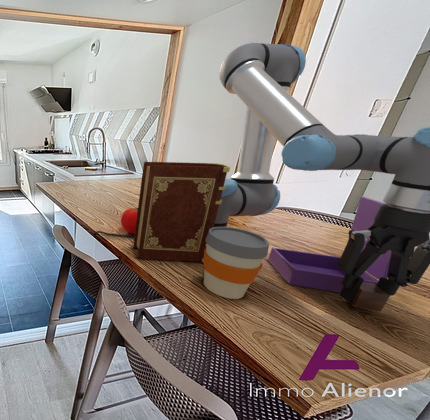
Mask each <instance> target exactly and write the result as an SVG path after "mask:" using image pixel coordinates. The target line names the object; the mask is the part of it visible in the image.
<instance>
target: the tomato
mask: <svg viewBox="0 0 430 420" xmlns="http://www.w3.org/2000/svg"><path fill="white" fill-rule="evenodd" d="M137 212H138V207H133V208H132V207H128V208H127V209H125V210H124V211H123V212H122V214H121V216H120V224H121V227H122V228H123V229H124V230H125V232H127V233H128V234H129V235H135V228H136V220H137Z"/></svg>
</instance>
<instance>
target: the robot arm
mask: <svg viewBox="0 0 430 420" xmlns="http://www.w3.org/2000/svg"><path fill="white" fill-rule="evenodd" d="M306 61H307V58H306V53H305V52H304V50H303V49H302V48H300V47H299V46H298V45H292V44H289V43H280V44H279V43H263V42H261V43H260V42H249V43H245V44H242V45H240V46H237V47H235V48H234V49H233V50H231V51H230V52H229V53H228V54H227V55H226V57H225V58H224V59H223V60H222V62H221V66H220V68H219V71H218V75H219V80H220V83H221V85H222V86H223V88H224V89H225V90H226V91H227V92H228V93H229V94H232V95H237V97H238V98H239V99H240V100H241V101H242V102H243V104H244V105H245V106H246V110H245V117H244V123H243V129H242V130H243V131H242V136H241V137H242V138H241V142H240V144H241V145H240V152H239V156H238V157H239V158H238V164H237V171H236V173H234V174H233V175H231V176H230V178H226V179H225V183H224V185H225V190H223V191H222V195H221V200H222V203H221V204H219V208H218V212H217V216H216V220H215V224H214V227H228V222H229V220H230V217H258V216H263V215H266V214H269V213H271V212H273V211H274V210H275V209H276V208H277V207H278V205H279V203H280V201H281V191H280V190H279V189H278V186H277V185H275V184H274V183H275V182H274V181H275V178H274V177H273V176H272V174H271V173H270V170H271V164H272V158H273V152H274V147H275V141H278V143H279V144H280V145H281V146H282V150H281V154H280V156H281V158H282V159H281V160H282V161H281V162H282V163H283V164H284V165H285V166H286V167H287V168H289V169H291V170H295V171H304V172H305V171H308V172H317V171H369V172H375V173H383V174H389V175H394V177H393V179H392V181H391V183H390V185H389V187H388V189H387V191H386V192H385V195H384V197H383V198H382V203H385V204H383V205H380V207H379V209H378V211H377V213H376V215H375V217H374V224H373V225H372V226H370V227H369V228H368V229H367V230H363V231H356V230H351V229H349V230H348V239H349V240H348V239H347V242H348V243H346V245H345V247H344V250H343V251H342V253H341V256H340V257H341V258H340V260H339V262H338V264H337V267H338V268H339V269H341V270H342V271H343V272H345V273H346V274H345V276H344V278H343V280H342V285H343V286H344V287H343V289H342V291H341V292H340V293H339V296H340V297H341V298H342V299H343V300H344V301H345V302H346V303H348V304H350V303H352V301H353V299H354V297H355V295H356V293H357V291H358V290H359V288H360V286H361V284H362V283H363V281H364V279H363V278H361V277H360V276H361V275H362V274H363V273H364V272H367V271H366V270H367V269H368V268H369V267H370V266H371V265H372V264H373V263H374V262H375V261H376V259H377V258H378V257H379V256H380V255H381V254H385V253H386V252H387V251H388V250H391V257H390V263H389V268H388V274H387V278H384V277H381V278H380V280H379V279H378V281H379V282H378V283H377V285H376V286H378V287H379V288H380V289H382V290H383V291H385V292H386V293H387V294H389V295H390V296H391V297H392V296H395V295H396V294H397V292H398V291H399V288H400V287H402V288H406V287H408V285H409V284H411V285H417V284H418V283H419V282H420V280H421V278H422V277H423V276H424V274H425V272H426V271H427V270H428V268H429V267H430V126H425V127H421V128H420V129H418V130H417V131H416V133H415V134H414V135H413V136H392V135H390V136H389V135H373V134H364V133H363V134H358V133H357V134H344V135H342V134H335V133H334V132H332V130H330V129H329V128H328V127H326V126H325V125H324V124H323V123H322V122H321V121H320V120H319V119H317V117H315V115H313V114H312V113H311V112H310V111H309V110H308V109H307V108H306V107H305V106H303V105H302V104H301V103H300V102H299V101H298V100H297V99H296V98H295V97H294V96H292V94H290V93H289V91H290V90H291V87H292V84H294V83H296V81H298V79H299V76H302V74H303V72H304V70H305V67H306V63H307V62H306ZM96 234H103V235H107V236H115V237H124V238H125V237H126V238H134V236H135V235H134V234H129V235H128V234H121V233H111V232H105V231H102V230H96V231H94V232H92V235H96ZM368 237H370V240H369V241H368V239H367V238H368ZM365 241H368V242H367V243H366V245H365V246H366V247H365V249H364V250H363V251H362V249H363V247H364V244H365ZM376 246H377V247H376ZM378 247H379V248H378ZM361 251H362V252H361Z"/></svg>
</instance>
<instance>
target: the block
mask: <svg viewBox="0 0 430 420" xmlns="http://www.w3.org/2000/svg"><path fill="white" fill-rule="evenodd" d="M390 296H391V295H389V294H387V293H386V292H385V291H383V290H382V289H380V288H379V287H378V286H376V285H375V284H373V283H367V282H363V283H362V284H361V286H360V288H359V290H358V291H357V293H356V295H355V297H354V299H353V301H352V303H349V304H350V305H351V306H353V307H354V308H357V309H362V310H363V309H364V310H369V311H374V312H378V313H381V312H382V310H383V309H384V307H385V306H386V303H387V302H388V300H389V298H390Z"/></svg>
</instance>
